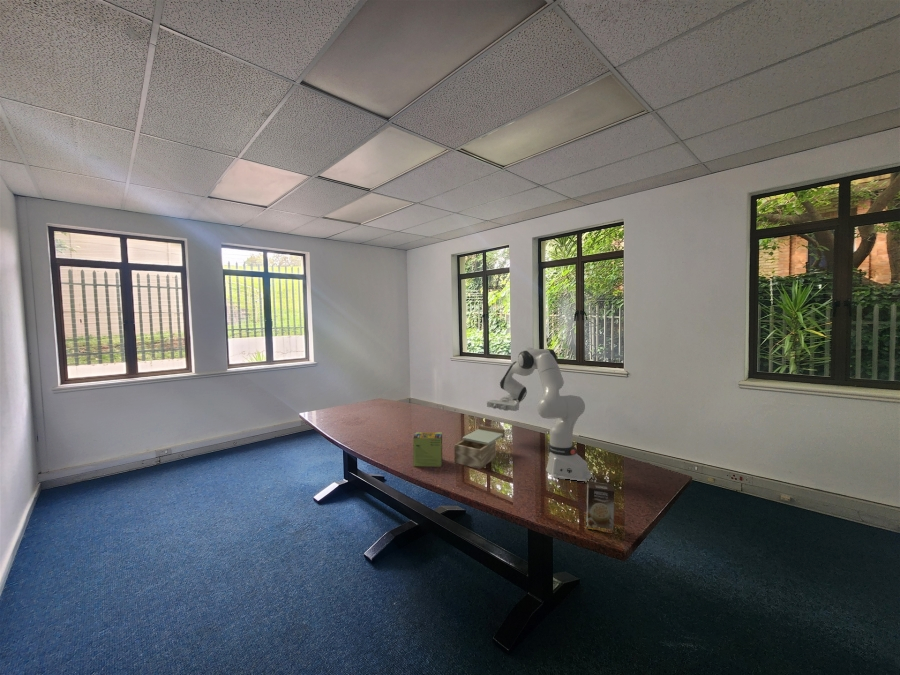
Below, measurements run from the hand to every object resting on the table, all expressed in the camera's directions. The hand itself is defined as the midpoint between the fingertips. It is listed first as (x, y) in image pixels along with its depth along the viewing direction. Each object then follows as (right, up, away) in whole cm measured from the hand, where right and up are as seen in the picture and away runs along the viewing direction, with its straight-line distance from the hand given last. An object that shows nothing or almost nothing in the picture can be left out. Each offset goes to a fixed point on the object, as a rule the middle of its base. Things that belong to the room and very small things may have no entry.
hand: (497, 407), depth 221 cm
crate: (-15, -25, -21) cm, 36 cm away
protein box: (-41, -26, -24) cm, 54 cm away
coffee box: (+27, -28, -87) cm, 95 cm away
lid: (-9, -16, -14) cm, 23 cm away
